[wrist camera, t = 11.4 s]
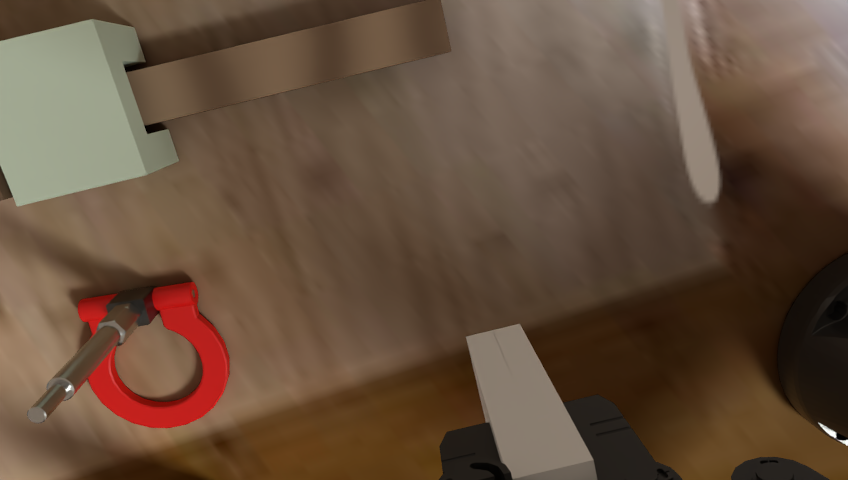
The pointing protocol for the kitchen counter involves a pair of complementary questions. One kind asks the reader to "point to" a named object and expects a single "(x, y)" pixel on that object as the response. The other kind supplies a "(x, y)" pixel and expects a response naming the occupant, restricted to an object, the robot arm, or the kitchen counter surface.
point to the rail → (286, 63)
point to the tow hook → (112, 328)
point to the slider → (73, 112)
